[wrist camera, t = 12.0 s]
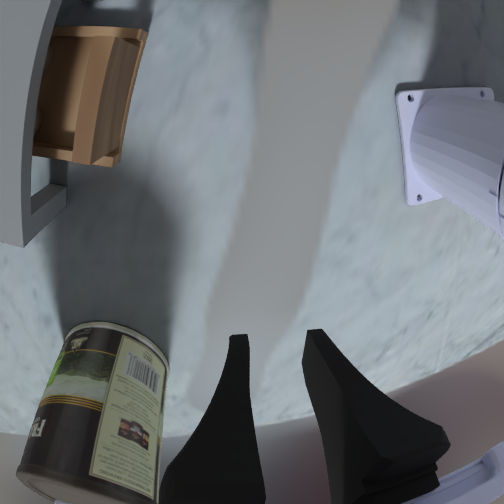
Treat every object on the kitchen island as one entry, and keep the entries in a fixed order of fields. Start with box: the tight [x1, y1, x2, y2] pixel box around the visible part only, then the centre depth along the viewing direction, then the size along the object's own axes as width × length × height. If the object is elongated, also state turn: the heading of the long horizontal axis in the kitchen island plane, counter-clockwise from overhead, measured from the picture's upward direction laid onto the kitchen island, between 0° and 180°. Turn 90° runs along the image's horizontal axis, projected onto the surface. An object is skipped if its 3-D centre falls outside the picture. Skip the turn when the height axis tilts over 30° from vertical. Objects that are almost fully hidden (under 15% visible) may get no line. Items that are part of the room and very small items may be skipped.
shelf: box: [0, 0, 103, 248], centre depth 11 cm, size 8×15×6 cm, turn 164°
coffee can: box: [16, 322, 169, 504], centre depth 19 cm, size 10×10×14 cm
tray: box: [32, 26, 148, 168], centre depth 13 cm, size 9×8×5 cm
